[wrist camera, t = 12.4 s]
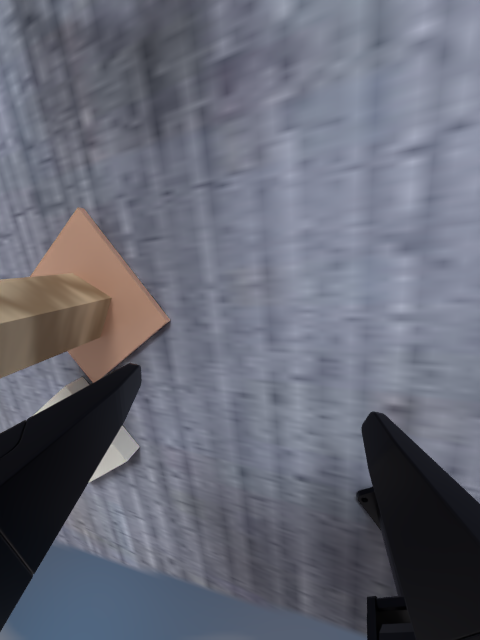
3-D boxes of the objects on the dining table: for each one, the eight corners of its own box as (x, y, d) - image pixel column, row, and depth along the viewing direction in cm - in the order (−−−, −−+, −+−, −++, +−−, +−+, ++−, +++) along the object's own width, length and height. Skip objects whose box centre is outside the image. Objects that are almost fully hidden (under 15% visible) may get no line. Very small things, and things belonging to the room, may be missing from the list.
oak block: (111, 297, 21) (-145, 357, 9) (100, 337, 23) (-130, 431, 11) (72, 273, 22) (-219, 299, 10) (63, 313, 23) (-195, 379, 11)
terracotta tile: (170, 320, 21) (166, 322, 20) (98, 381, 26) (93, 383, 25) (83, 208, 20) (77, 207, 20) (25, 291, 25) (19, 291, 24)
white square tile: (139, 446, 27) (127, 461, 25) (93, 473, 30) (79, 488, 28) (82, 376, 26) (65, 385, 24) (42, 412, 30) (24, 423, 28)
